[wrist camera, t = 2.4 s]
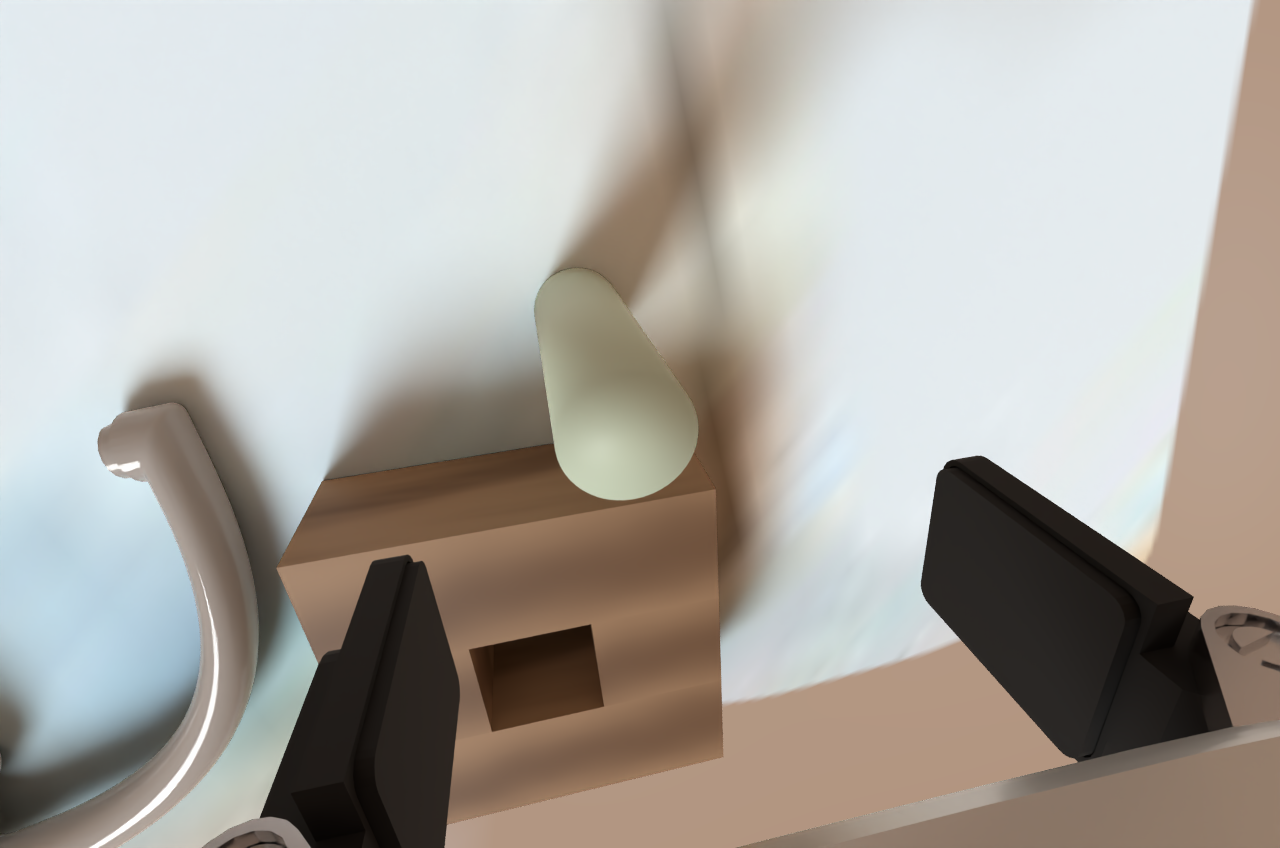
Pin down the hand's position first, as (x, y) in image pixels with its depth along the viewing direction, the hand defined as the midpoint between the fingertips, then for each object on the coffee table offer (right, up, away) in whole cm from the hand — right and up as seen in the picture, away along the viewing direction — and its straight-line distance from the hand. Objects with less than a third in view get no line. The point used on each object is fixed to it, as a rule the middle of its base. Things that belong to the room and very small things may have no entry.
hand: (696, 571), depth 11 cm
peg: (-4, +7, +15) cm, 17 cm away
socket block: (-6, -6, +20) cm, 22 cm away
